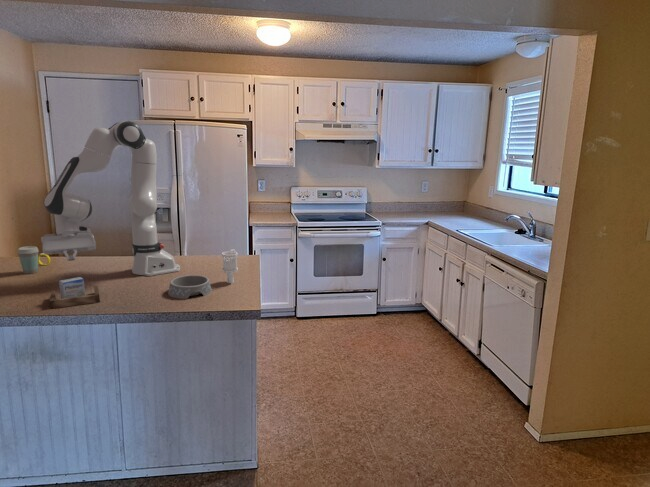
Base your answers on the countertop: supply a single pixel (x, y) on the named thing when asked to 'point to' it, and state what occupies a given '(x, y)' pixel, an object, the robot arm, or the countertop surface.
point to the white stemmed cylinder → (230, 264)
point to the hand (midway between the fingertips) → (71, 259)
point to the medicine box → (72, 287)
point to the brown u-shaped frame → (74, 299)
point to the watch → (46, 256)
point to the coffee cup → (29, 259)
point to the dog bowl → (189, 286)
